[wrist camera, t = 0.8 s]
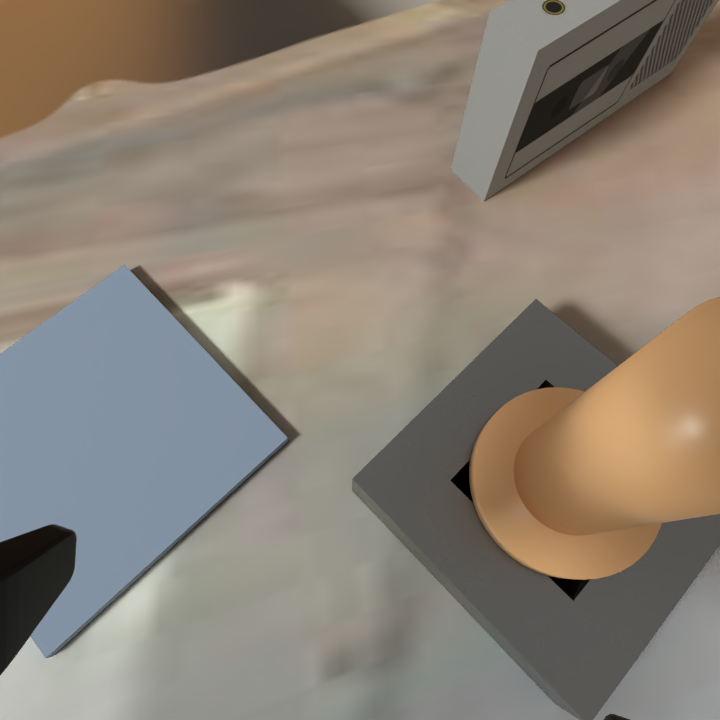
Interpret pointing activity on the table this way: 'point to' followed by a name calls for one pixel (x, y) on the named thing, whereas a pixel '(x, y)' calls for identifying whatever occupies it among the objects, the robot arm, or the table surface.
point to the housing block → (493, 565)
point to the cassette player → (562, 77)
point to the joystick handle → (606, 457)
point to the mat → (118, 441)
